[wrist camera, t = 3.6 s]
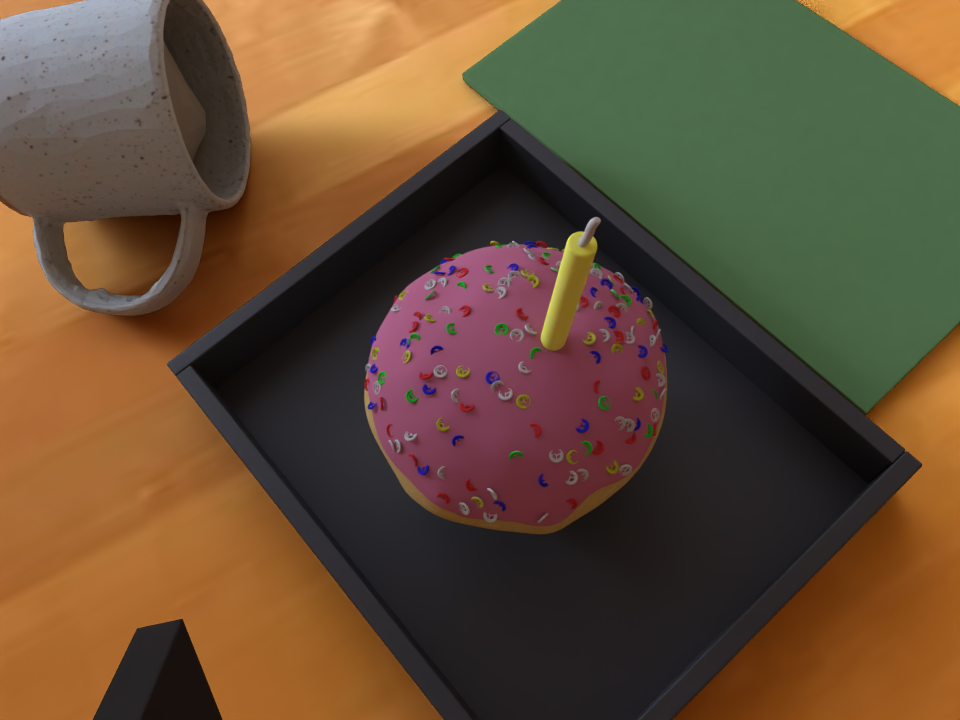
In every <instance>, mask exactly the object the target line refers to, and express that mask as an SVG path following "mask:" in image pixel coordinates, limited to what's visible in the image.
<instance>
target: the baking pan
mask: <svg viewBox="0 0 960 720" xmlns="http://www.w3.org/2000/svg"><path fill="white" fill-rule="evenodd" d="M594 217H598V218H600V220H601V222H600V224H599V225H598V226H597V228H596V229H595V233H594V235H593V237H594V238H595V239H596V241H597V251H596V254H595V257H594V260H593V263H597V264H599V265H600V266H601V267H603V268H605V269H607V270H609V271H611V272H613V273H614V274H615V273H616V272H619V273H621V274H622V275H623V277H624V281H625V282H626V283H627V284H628V285H629V286H630V287H636V288H638V289H639V291H640V296H641V297H642V299H643V300H644V298H646V297H648V298H650V300H651V301H652V308H651V309H650V310H651V311H652V313H653V315H654V317H655V319H656V320H657V324H658V327H659V329H661V332H660V333H661V337H662V341H663V344H665V345H666V346H667V347H668V349H669V352H668V353H665V356H666V369H667V399H666V408H665V414H664V419H663V422H662V426H661V429H660V432H659V434H658V437H657V439H656V442H655V444H654V446H653V448H652V450H651V452H650V453H649V455H648V457H647V458H646V460H645V461H644V463H643V464H642V466H641V467H640V468H639V470H638V471H637V472H636V473H635V474H634V476H633V477H632V478H631V479H630V480H629V481H628V482H627V483H626V484H625V485H624V486H623V487H621V488H620V489H619V490H618V491H617V492H616V493H614V494H613V495H612V496H611V497H609V498H608V499H607V500H606V501H604V502H603V503H602V504H600V505H599V506H597V507H596V508H594V509H593V510H591V511H590V512H588V513H586V514H585V515H583V516H581V517H580V518H578V519H577V520H575V521H573V522H572V523H570V524H569V525H567V526H566V527H564V528H562V529H560V530H558V531H556V532H553V533H549V534H530V533H519V532H509V531H500V530H493V529H487V528H481V527H476V526H470V525H466V524H461V523H457V522H453V521H450V520H447V519H444V518H441V517H439V516H437V515H435V514H433V513H431V512H429V511H428V510H426V509H425V508H423V507H422V506H421V505H419V504H418V503H417V502H416V501H415V500H414V499H412V498H411V497H410V496H409V495H408V494H407V493H406V491H405V490H404V488H403V487H402V485H401V483H400V482H399V480H398V478H397V476H396V474H395V473H394V471H393V469H392V468H391V466H390V464H389V463H388V461H387V459H386V458H385V456H384V454H383V452H382V450H381V449H380V447H379V445H378V443H377V441H376V439H375V437H374V435H373V433H372V431H371V428H370V425H369V422H368V419H367V415H366V410H365V402H364V390H365V386H364V383H365V380H366V375H367V373H366V369H365V367H366V365H367V364H368V362H369V356H370V352H371V348H372V346H371V338H372V337H373V336H375V337H376V334H377V332H378V330H379V328H380V326H381V325H382V323H383V321H384V319H385V318H386V316H387V314H388V313H389V311H390V309H391V307H392V306H393V303H394V299H395V296H397V298H398V296H399V295H400V293H402V291H403V290H404V289H405V288H406V287H407V286H408V285H410V284H411V283H412V282H414V281H415V280H416V279H418V278H419V277H421V276H423V275H424V274H426V273H427V272H429V271H431V270H432V269H434V268H436V267H437V266H439V265H440V262H441V261H442V260H444V258H452V257H453V256H454V255H456V254H462V255H463V254H465V253H467V252H470V251H473V250H476V249H479V248H484V247H490V246H491V244H490V242H491V241H496V242H498V243H500V244H504V245H507V244H510V243H512V241H514V242H516V243H518V244H522V245H524V243H525V242H526V241H532V242H535V243H537V242H538V241H543V242H545V243H546V244H547V247H548V248H556V249H559V251H560V252H561V251H562V250H563V249H565V247H566V243H567V240H568V238H569V237H570V236H571V235H572V234H573V233H576V232H585V228H586V226H587V224H588V222H589V221H590V220H591V219H592V218H594ZM494 244H495V243H494ZM529 244H531V243H529ZM527 245H528V244H527ZM540 245H543V244H540ZM495 246H496V245H495ZM539 247H541V246H539ZM543 248H545V247H544V246H543ZM457 257H458V256H457ZM455 258H456V257H455ZM445 262H447V261H445ZM617 276H619V275H617ZM619 277H620V276H619ZM635 292H636V290H635ZM636 293H637V292H636ZM648 303H649V301H648ZM646 304H647V302H646ZM647 306H648V307H649V305H647ZM373 341H374V340H373ZM664 349H665V347H664ZM665 350H666V349H665ZM167 366H168V367H169V368H170V369H171V371H172V372H173V373H174V375H175V376H176V377H177V378H178V380H179V381H180V382H181V384H182V385H183V386H184V387H185V389H186V390H187V391H188V392H189V394H190V395H191V396H192V398H193V399H194V400H195V401H196V403H197V404H198V405H199V407H200V408H201V409H202V410H203V412H204V413H205V414H206V416H207V417H208V418H209V419H210V421H211V422H212V423H213V424H214V426H215V427H216V428H217V430H218V431H219V432H220V433H221V435H222V436H223V437H224V439H225V440H226V441H227V442H228V444H229V445H230V446H231V448H232V449H233V450H234V451H235V453H236V454H237V455H238V457H239V458H240V459H241V460H242V462H243V463H244V464H245V465H246V467H247V468H248V469H249V471H250V472H251V473H252V474H253V476H254V477H255V478H256V480H257V481H258V482H259V483H260V485H261V486H262V487H263V489H264V490H265V491H266V492H267V494H268V495H269V496H270V497H271V499H272V500H273V501H274V503H275V504H276V505H277V506H278V508H279V509H280V510H281V512H282V513H283V514H284V515H285V517H286V518H287V519H288V521H289V522H290V523H291V524H292V526H293V527H294V528H295V529H296V531H297V532H298V533H299V535H300V536H301V537H302V538H303V540H304V541H305V542H306V544H307V545H308V546H309V547H310V549H311V550H312V551H313V553H314V554H315V555H316V556H317V558H318V559H319V560H320V561H321V563H322V564H323V565H324V567H325V568H326V569H327V570H328V572H329V573H330V574H331V576H332V577H333V578H334V579H335V581H336V582H337V583H338V585H339V586H340V587H341V588H342V590H343V591H344V592H345V593H346V595H347V596H348V597H349V599H350V600H351V601H352V602H353V604H354V605H355V606H356V608H357V609H358V610H359V611H360V613H361V614H362V615H363V617H364V618H365V619H366V620H367V622H368V623H369V624H370V626H371V627H372V628H373V629H374V631H375V632H376V633H377V634H378V636H379V637H380V638H381V640H382V641H383V642H384V643H385V645H386V646H387V647H388V649H389V650H390V651H391V652H392V654H393V655H394V656H395V658H396V659H397V660H398V661H399V663H400V664H401V665H402V666H403V668H404V669H405V670H406V672H407V673H408V674H409V675H410V677H411V678H412V679H413V681H414V682H415V683H416V684H417V686H418V687H419V688H420V690H421V691H422V692H423V693H424V695H425V696H426V697H427V698H428V700H429V701H430V702H431V704H432V705H433V706H434V707H435V709H436V710H437V711H438V713H439V714H440V715H441V716H442V718H443V719H444V720H672V719H673V718H674V717H675V716H676V715H677V714H678V713H679V712H680V711H681V710H682V709H683V708H684V707H685V706H686V705H687V704H688V703H689V702H690V701H691V700H692V699H693V698H694V697H695V696H696V695H697V694H698V693H699V692H700V691H701V690H702V689H703V688H704V687H705V686H706V685H707V684H708V683H709V682H710V681H711V680H712V679H713V678H714V677H715V676H716V675H717V674H718V673H719V672H720V671H721V670H722V669H723V668H724V667H725V666H726V665H727V664H728V663H729V662H730V661H731V660H732V659H733V658H734V657H735V656H736V655H737V654H738V653H739V651H740V650H741V649H742V648H743V647H744V646H745V645H746V644H747V643H748V642H749V641H750V640H751V639H752V638H753V637H754V636H755V635H756V634H757V633H758V632H759V631H760V630H761V629H762V628H763V627H764V626H765V625H766V624H767V623H768V622H769V621H770V620H771V619H772V618H773V617H774V616H775V615H776V614H777V613H778V612H779V611H780V610H781V609H782V608H783V607H784V606H785V605H786V604H787V603H788V602H789V601H790V600H791V599H792V598H793V597H794V596H795V595H796V594H797V593H798V592H799V591H800V590H801V589H802V588H803V587H804V586H805V585H806V584H807V583H808V582H809V580H810V579H811V578H812V577H813V576H814V575H815V574H816V573H817V572H818V571H819V570H820V569H821V568H822V567H823V566H824V565H825V564H826V563H827V562H828V561H829V560H830V559H831V558H832V557H833V556H834V555H835V554H836V553H837V552H838V551H839V550H840V549H841V548H842V547H843V546H844V545H845V544H846V543H847V542H848V541H849V540H850V539H851V538H852V537H853V536H854V535H855V534H856V533H857V532H858V531H859V530H860V529H861V528H862V527H863V526H864V525H865V524H866V523H867V522H868V521H869V520H870V519H871V518H872V517H873V516H874V515H875V514H876V513H877V512H878V510H879V509H880V508H881V507H882V506H883V505H884V504H885V503H886V502H887V501H888V500H889V499H890V498H891V497H892V496H893V495H894V494H895V493H896V492H897V491H898V490H899V489H900V488H901V487H902V486H903V485H904V484H905V483H906V482H907V481H908V480H909V479H910V478H911V477H912V476H913V475H914V474H915V473H916V472H917V471H918V470H919V469H920V468H921V467H922V464H921V463H920V462H919V461H918V460H917V459H916V458H914V457H913V456H912V455H911V454H910V453H909V452H907V451H905V449H904V448H903V447H902V446H901V445H899V444H898V443H897V442H896V441H895V440H894V439H892V438H891V437H890V436H889V435H888V434H886V433H885V432H884V431H883V430H882V429H880V428H879V427H878V426H877V425H876V424H875V423H873V422H872V421H871V420H870V419H869V418H867V417H866V416H865V415H864V414H863V413H861V412H860V411H859V410H858V409H857V408H855V407H854V406H853V405H852V404H851V403H850V402H848V401H847V400H846V399H845V398H844V397H842V396H841V395H840V394H839V393H838V392H836V391H835V390H834V389H833V388H832V387H831V386H829V385H828V384H827V383H826V382H825V381H823V380H822V379H821V378H820V377H819V376H817V375H816V374H815V373H814V372H813V371H811V370H810V369H809V368H808V367H807V366H806V365H804V364H803V363H802V362H801V361H800V360H798V359H797V358H796V357H795V356H794V355H792V354H791V353H790V352H789V351H788V350H787V349H785V348H784V347H783V346H782V345H781V344H779V343H778V342H777V341H776V340H775V339H773V338H772V337H771V336H770V335H769V334H767V333H766V332H765V331H764V330H763V329H762V328H760V327H759V326H758V325H757V324H756V323H754V322H753V321H752V320H751V319H750V318H748V317H747V316H746V315H745V314H744V313H743V312H741V311H740V310H739V309H738V308H737V307H735V306H734V305H733V304H732V303H731V302H729V301H728V300H727V299H726V298H725V297H723V296H722V295H721V294H720V293H719V292H718V291H716V290H715V289H714V288H713V287H712V286H710V285H709V284H708V283H707V282H706V281H704V280H703V279H702V278H701V277H700V276H699V275H697V274H696V273H695V272H694V271H693V270H691V269H690V268H689V267H688V266H687V265H685V264H684V263H683V262H682V261H681V260H680V259H678V258H677V257H676V256H675V255H674V254H672V253H671V252H670V251H669V250H668V249H666V248H665V247H664V246H663V245H662V244H660V243H659V242H658V241H657V240H656V239H655V238H653V237H652V236H651V235H650V234H649V233H647V232H646V231H645V230H644V229H643V228H641V227H640V226H639V225H638V224H637V223H636V222H634V221H633V220H632V219H631V218H630V217H628V216H627V215H626V214H625V213H624V212H622V211H621V210H620V209H619V208H618V207H616V206H615V205H614V204H613V203H612V202H611V201H609V200H608V199H607V198H606V197H605V196H603V195H602V194H601V193H600V192H599V191H597V190H596V189H595V188H594V187H593V186H592V185H590V184H589V183H588V182H587V181H586V180H584V179H583V178H582V177H581V176H580V175H578V174H577V173H576V172H575V171H574V170H572V169H571V168H570V167H569V166H568V165H567V164H565V163H564V162H563V161H562V160H561V159H559V158H558V157H557V156H556V155H555V154H553V153H552V152H551V151H550V150H549V149H548V148H546V147H545V146H544V145H543V144H542V143H540V142H539V141H538V140H537V139H536V138H534V137H533V136H532V135H531V134H530V133H529V132H527V131H526V130H525V129H524V128H523V127H521V126H520V125H519V124H518V123H517V122H515V121H514V120H513V119H511V118H510V117H509V116H508V115H507V114H506V113H505V112H503V111H502V110H499V111H498V112H497V113H495V114H494V115H493V116H491V117H490V118H489V119H487V120H486V121H485V122H483V123H482V124H481V125H479V126H478V127H477V128H475V129H474V130H473V131H472V132H470V133H469V134H468V135H466V136H465V137H464V138H462V139H461V140H460V141H458V142H457V143H456V144H454V145H453V146H452V147H451V148H449V149H448V150H447V151H445V152H444V153H443V154H441V155H440V156H439V157H437V158H436V159H435V160H433V161H432V162H431V163H430V164H428V165H427V166H426V167H424V168H423V169H422V170H420V171H419V172H418V173H416V174H415V175H414V176H412V177H411V178H410V179H409V180H407V181H406V182H405V183H403V184H402V185H401V186H399V187H398V188H397V189H395V190H394V191H393V192H391V193H390V194H389V195H387V196H386V197H385V198H384V199H382V200H381V201H380V202H378V203H377V204H376V205H374V206H373V207H372V208H370V209H369V210H368V211H366V212H365V213H364V214H363V215H361V216H360V217H359V218H357V219H356V220H355V221H353V222H352V223H351V224H349V225H348V226H347V227H345V228H344V229H343V230H342V231H340V232H339V233H338V234H336V235H335V236H334V237H332V238H331V239H330V240H328V241H327V242H326V243H324V244H323V245H322V246H321V247H319V248H318V249H317V250H315V251H314V252H313V253H311V254H310V255H309V256H307V257H306V258H305V259H303V260H302V261H301V262H299V263H298V264H297V265H296V266H294V267H293V268H292V269H290V270H289V271H288V272H286V273H285V274H284V275H282V276H281V277H280V278H278V279H277V280H276V281H275V282H273V283H272V284H271V285H269V286H268V287H267V288H265V289H264V290H263V291H261V292H260V293H259V294H257V295H256V296H255V297H254V298H252V299H251V300H250V301H248V302H247V303H246V304H244V305H243V306H242V307H240V308H239V309H238V310H236V311H235V312H234V313H233V314H231V315H230V316H229V317H227V318H226V319H225V320H223V321H222V322H221V323H219V324H218V325H217V326H215V327H214V328H213V329H212V330H210V331H209V332H208V333H206V334H205V335H204V336H202V337H201V338H200V339H198V340H197V341H196V342H194V343H193V344H192V345H190V346H189V347H188V348H187V349H185V350H184V351H183V352H181V353H180V354H179V355H177V356H176V357H175V358H173V359H172V360H171V361H169V362H168V363H167Z"/></svg>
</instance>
